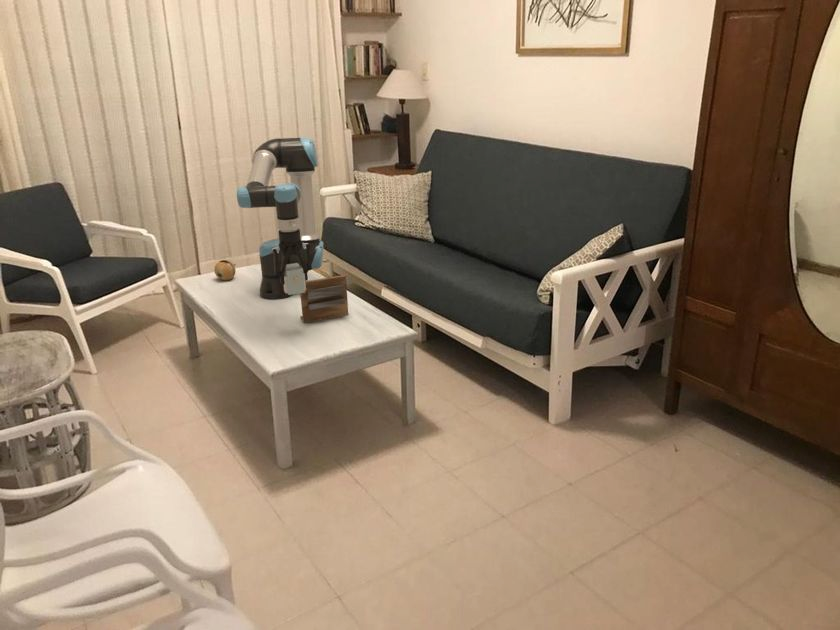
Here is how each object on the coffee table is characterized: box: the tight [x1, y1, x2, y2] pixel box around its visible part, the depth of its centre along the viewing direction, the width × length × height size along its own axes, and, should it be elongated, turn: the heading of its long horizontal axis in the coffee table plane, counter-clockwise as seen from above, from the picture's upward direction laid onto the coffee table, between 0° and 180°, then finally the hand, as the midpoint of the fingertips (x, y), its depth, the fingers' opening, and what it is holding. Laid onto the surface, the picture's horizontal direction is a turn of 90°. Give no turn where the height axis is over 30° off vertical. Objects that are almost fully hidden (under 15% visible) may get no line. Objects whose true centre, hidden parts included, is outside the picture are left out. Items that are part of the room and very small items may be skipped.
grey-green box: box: [284, 263, 305, 296], centre depth 250 cm, size 9×6×9 cm
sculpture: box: [214, 259, 237, 282], centre depth 314 cm, size 9×9×15 cm
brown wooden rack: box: [299, 274, 349, 323], centre depth 265 cm, size 8×18×16 cm, turn 115°
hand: (295, 290), depth 251 cm, fingers closed on grey-green box, 6 cm apart
